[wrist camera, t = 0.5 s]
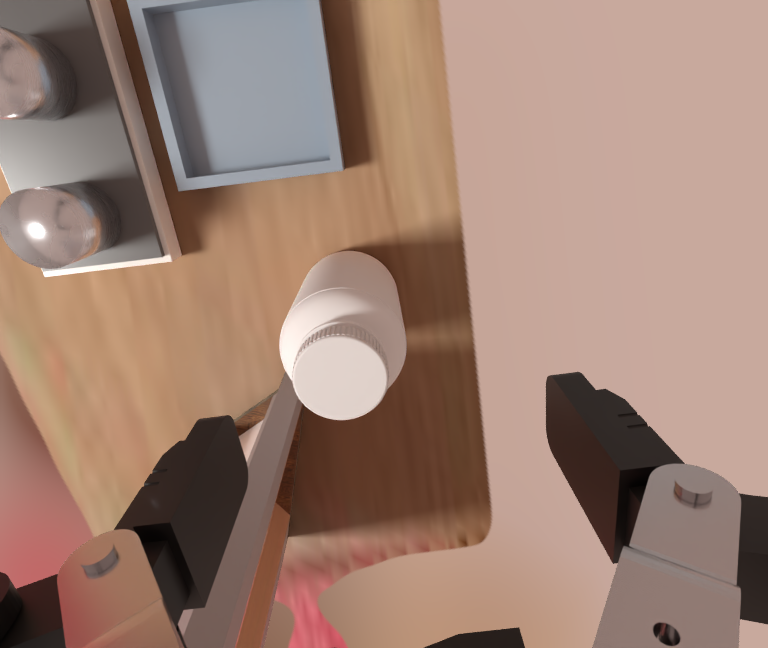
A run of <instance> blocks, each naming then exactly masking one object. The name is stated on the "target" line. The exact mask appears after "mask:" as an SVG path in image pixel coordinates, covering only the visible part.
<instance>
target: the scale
mask: <svg viewBox="0 0 768 648" xmlns="http://www.w3.org/2000/svg"><path fill="white" fill-rule="evenodd" d="M0 26H1V27H4V28H8V29H11V30H14V31H18V32H21V33H24V34H28V35H31V36H34V37H37V38H40V39H43V40H45V41H47V42H49V43H51V44H52V45H54V46H55V47H56V48H57V49H59V50H60V51H61V52H62V53H63V54H64V56H65V57H66V58H67V60H68V61H69V63H70V64H71V66H72V68H73V70H74V73H75V76H76V79H77V85H78V94H77V100H76V103H75V105H74V107H73V109H72V110H71V112H70V113H69V114H68V115H66V116H65V117H63V118H62V119H59V120H56V121H49V122H47V121H29V120H10V119H0V166H1V168H2V171H3V173H4V176H5V178H6V181H7V183H8V186H9V188H10V191H11V193H14V192H16V191H19V190H23V189H30V188H37V187H44V186H52V185H59V184H66V183H73V182H83V183H88V184H91V185H94V186H96V187H98V188H99V189H101V190H103V191H104V192H105V193H106V194H107V195H108V196H109V197H110V198H111V199H112V200H113V201H114V203H115V204H116V206H117V208H118V210H119V213H120V216H121V222H122V227H121V233H120V236H119V238H118V240H117V241H116V242H115V243H114V244H113V245H112V246H111V247H110V248H108V249H106V250H103V251H101V252H98V253H96V254H94V255H91V256H89V257H86V258H84V259H81V260H79V261H76V262H74V263H71V264H69V265H66V266H64V267H61V268H56V269H45V268H41V269H42V271H43V274H44V276H45V277H49V276H57V275H65V274H74V273H82V272H90V271H98V270H106V269H114V268H123V267H131V266H139V265H147V264H155V263H163V262H172V261H174V260H175V259H177V258H179V257H180V256H182V254H181V250H180V246H179V243H178V239H177V236H176V232H175V229H174V225H173V222H172V218H171V215H170V211H169V208H168V204H167V200H166V197H165V193H164V190H163V186H162V183H161V179H160V176H159V172H158V169H157V165H156V161H155V158H154V154H153V151H152V147H151V144H150V140H149V137H148V133H147V130H146V126H145V122H144V119H143V115H142V112H141V108H140V105H139V101H138V98H137V94H136V91H135V87H134V84H133V80H132V76H131V73H130V69H129V66H128V62H127V59H126V55H125V52H124V48H123V45H122V41H121V37H120V34H119V30H118V27H117V23H116V20H115V16H114V13H113V9H112V6H111V2H110V0H0Z"/></svg>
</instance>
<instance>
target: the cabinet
mask: <svg viewBox="0 0 768 648" xmlns="http://www.w3.org/2000/svg"><path fill="white" fill-rule="evenodd" d="M294 389H295V388H294V387H293V383H292V380H291V379H290V377H289V376H288V374H287V372H285V374H284V377H283V379H282V382H281V385H280V387H279V389H278V390H277V391H275V392H274V393H272V394H271V395H269V396H268V397H267V398H265V399H264V400H262V401H261V402H259V403H258V404H257V405H255V406H254V407H252V408H251V409H249V410H248V411H246V412H245V413H244V414H242V415H241V416H239V417H238V418H236V419H235V420H234V423H235V426H236V429H237V433H238V436H239V439H240V442H241V446H242V449H243V452H244V456H245V459H246V462H247V466H248V486H247V490H246V493H245V496H244V499H243V502H242V504H241V507H240V510H239V513H238V516H237V518H236V521H235V524H234V527H233V530H232V533H231V535H230V538H229V541H228V544H227V547H226V549H225V552H224V555H223V558H222V561H221V564H220V566H219V569H218V572H217V575H216V578H215V580H214V583H213V586H212V589H211V592H210V594H209V597H208V600H207V603H206V606H205V608H197V609H189V610H183V613H182V615H181V618H180V620H179V623H178V626H179V628H180V630H181V632H182V635H183V637H184V640H185V642H186V645H187V647H188V648H264V644H265V639H266V635H267V630H268V625H269V621H270V616H271V612H272V607H273V603H274V598H275V594H276V589H277V585H278V580H279V575H280V571H281V566H282V562H283V557H284V553H285V548H286V544H287V539H288V532H289V524H290V516H291V508H292V500H293V491H294V483H295V475H296V467H297V459H298V451H299V442H300V434H301V426H302V418H303V410H304V404H303V403H302V402H301V400H299V398H298V396H297V395H296V392H295V390H294Z"/></svg>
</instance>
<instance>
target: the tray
mask: <svg viewBox="0 0 768 648" xmlns="http://www.w3.org/2000/svg"><path fill="white" fill-rule="evenodd" d="M127 4H128V7H129V11H130V15H131V18H132V22H133V26H134V29H135V33H136V37H137V40H138V44H139V48H140V51H141V55H142V59H143V63H144V66H145V70H146V74H147V77H148V81H149V85H150V88H151V92H152V96H153V99H154V103H155V107H156V110H157V114H158V118H159V122H160V125H161V129H162V133H163V136H164V140H165V144H166V147H167V151H168V155H169V158H170V162H171V166H172V169H173V173H174V177H175V181H176V184H177V188H178V191H186V190H194V189H202V188H210V187H217V186H225V185H233V184H241V183H249V182H257V181H265V180H273V179H281V178H289V177H296V176H304V175H312V174H320V173H328V172H336V171H343V170H344V169H345V165H344V158H343V151H342V144H341V137H340V130H339V123H338V116H337V109H336V102H335V95H334V88H333V81H332V74H331V67H330V60H329V53H328V46H327V39H326V32H325V25H324V18H323V11H322V4H321V0H127Z"/></svg>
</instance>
